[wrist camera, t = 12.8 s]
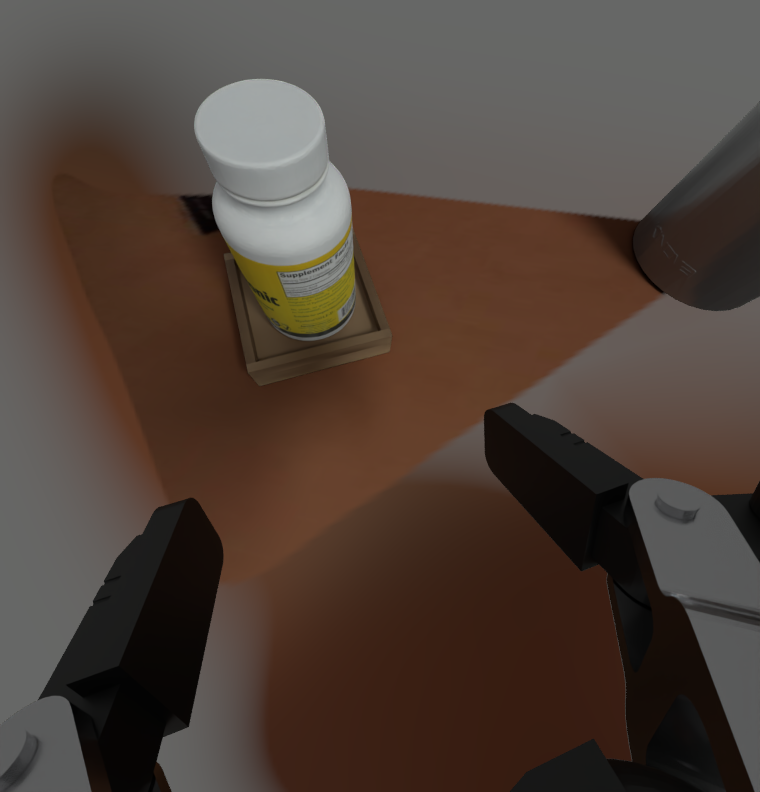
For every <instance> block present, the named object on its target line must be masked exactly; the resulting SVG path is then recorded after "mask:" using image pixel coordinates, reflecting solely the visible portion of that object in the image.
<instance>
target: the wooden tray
mask: <svg viewBox="0 0 760 792" xmlns="http://www.w3.org/2000/svg"><path fill="white" fill-rule="evenodd" d="M352 232H353V233H352V234H353V252H354V271H355V293H356V302H355V308H354V312H353V314H352V316H351V318H350V320H349V321H348V323H347V324H346V325H345V326H344V327H343V328H342V329H341V330H340V331H338V332H337V333H335V334H334V335H332V336H329V337H327V338H324V339H320V340H314V341H302V340H297V339H293V338H290V337H288V336H286V335H284V334H282V333H281V332H279V331H278V330H277V329H276V328H275V327H274V326H273V325H272V324H271V323H270V321H269V320H268V318H267V317H266V315H265V313H264V311H263V309H262V307H261V306H260V304H259V302H258V301H257V299H256V297H255V295H254V293H253V291H252V290H251V288H250V286H249V284H248V282H247V281H246V279H245V277H244V275H243V273H242V272H241V270H240V268H239V266H238V264H237V262H236V260H235V259H234V257H233V255H232V253H226V254H224V259H225V264H226V269H227V274H228V279H229V283H230V288H231V293H232V298H233V303H234V308H235V313H236V317H237V322H238V327H239V332H240V337H241V342H242V347H243V352H244V356H245V361H246V366H247V371H248V374H249V375H250V376H251V377H252V378H253V379H254V380H255V382H256V383H257V384H258V385H259V386H262V385H266V384H270V383H274V382H277V381H281V380H285V379H289V378H293V377H296V376H300V375H304V374H308V373H311V372H315V371H319V370H323V369H327V368H330V367H334V366H338V365H342V364H346V363H349V362H353V361H357V360H361V359H365V358H368V357H372V356H376V355H380V354H383V353H387V352H389V351H390V346H391V341H392V333H391V331H390V328H389V325H388V323H387V320H386V317H385V314H384V312H383V309H382V306H381V304H380V301H379V298H378V295H377V293H376V290H375V287H374V285H373V282H372V279H371V276H370V274H369V271H368V268H367V266H366V263H365V260H364V257H363V255H362V252H361V249H360V247H359V244H358V241H357V238H356V236H355V233H354V230H353V228H352Z"/></svg>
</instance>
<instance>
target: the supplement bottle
mask: <svg viewBox="0 0 760 792" xmlns="http://www.w3.org/2000/svg"><path fill="white" fill-rule="evenodd" d="M194 130H195V134H196V138H197V141H198V143H199V145H200V147H201V150H202V152H203V154H204V156H205V158H206V161H207V163H208V165H209V168H210V170H211V172H212V174H213V176H214V177H215V179H216V180H217V182H216V184H215V187H214V191H213V197H212V207H213V213H214V217H215V221H216V223H217V225H218V227H219V230H220V232H221V234H222V236H223V238H224V240H225V242H226V244H227V245H228V247H229V249H230V251H231V253H232V255H233V257H234V259H235V260H236V262H237V264H238V266H239V268H240V270H241V272H242V273H243V275H244V277H245V279H246V281H247V282H248V284H249V286H250V288H251V290H252V291H253V293H254V295H255V297H256V299H257V301H258V302H259V304H260V306H261V307H262V309H263V311H264V313H265V315H266V317H267V318H268V320H269V321H270V323H271V324H272V325H273V326H274V327H275V328H276V329H277V330H278V331H279V332H281V333H282V334H284V335H286V336H288V337H290V338H293V339H297V340H302V341H314V340H320V339H324V338H327V337H329V336H332V335H334V334H335V333H337V332H338V331H340V330H341V329H342V328H343V327H344V326H345V325H346V324H347V323H348V321H349V320H350V318H351V316H352V314H353V312H354V308H355V302H356V293H355V271H354V252H353V234H352V233H353V232H352V209H351V200H350V194H349V190H348V187H347V184H346V182H345V180H344V178H343V177H342V175H341V173H340V172H339V171H338V169H337V168H336V167H335V166H334V165H333V164H332V163H331V162H330V161H329V157H328V145H327V136H326V128H325V120H324V116H323V113H322V110H321V108H320V107H319V105H318V103H317V102H316V101H315V100H314V98H313V97H311V96H310V95H309V94H308V93H307V92H305V91H304V90H302V89H300V88H298V87H297V86H294V85H292V84H289V83H286V82H283V81H278V80H271V79H250V80H242V81H239V82H236V83H232V84H229V85H227V86H224V87H222V88H220V89H218V90H217V91H215V92H214V93H213V94H211V95H209V97H207V98H206V99H205V100H204V102H203V103H202V104H201V106H200V107H199V109H198V111H197V113H196V116H195V121H194Z"/></svg>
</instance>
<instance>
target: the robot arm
mask: <svg viewBox="0 0 760 792" xmlns="http://www.w3.org/2000/svg"><path fill="white" fill-rule="evenodd" d="M633 249H634V252H635V255H636V258H637V261H638V263H639V264H640V266H641V268H642V270H643V271H644V272H645V274H646V275H647V276H648V277H649V279H650V280H651V281H652V282H653V283H654V284H655V285H657V286H658V287H659V288H660V289H661V290H662V291H664V292H665V293H667V294H668V295H670V296H671V297H673V298H675V299H676V300H678V301H680V302H683V303H685V304H687V305H689V306H693V307H696V308H699V309H703V310H711V311H726V310H731V309H734V308H738V307H741V306H743V305H744V304H746V303H748V302H750V301H752V300H754V299H756V298H758V297H760V102H759V103H758V104H757V105H756V106H755V107H754V108H753V109H752V110H751V111H750V112H749V113H748V114H747V115H746V116H745V117H744V118H743V119H742V120H741V121H740V122H739V123H738V124H737V125H736V126H735V127H734V128H733V129H732V130H731V131H730V132H729V133H728V134H727V135H726V136H725V137H724V138H723V139H722V140H721V141H720V142H719V143H718V144H717V145H716V146H715V147H714V148H713V149H712V150H711V151H710V152H709V153H708V154H707V155H706V156H705V157H704V158H703V159H702V160H701V161H700V162H699V163H698V164H697V165H696V166H695V167H694V168H693V169H692V170H691V171H690V172H689V173H688V174H687V175H686V176H685V177H684V178H683V179H682V180H681V181H680V182H679V183H678V184H677V185H676V186H675V187H674V188H673V189H672V190H671V191H670V192H669V193H668V194H667V195H666V196H665V197H664V198H663V199H662V200H661V202H659V203H658V204H657V205H656V206H655V207H654V208H653V209H652V210H651V211H650V212H649V213H648V215H646V216H645V217H644V218H643V219H642V220H641V222H640V223H639V224H638V226H637V228H636V229H635V232H634V237H633ZM484 435H485V457H486V460H487V463H488V466H489V468H490V469H491V471H492V472H493V474H494V475H495V476H496V477H497V478H498V479H499V480H500V481H501V483H502V484H503V485H504V486H505V487H506V488H507V489H508V490H509V492H510V493H511V494H512V495H513V496H514V497H515V498H516V499H517V500H518V502H519V503H520V504H521V505H522V506H523V507H524V508H525V509H526V510H527V512H528V513H529V514H530V515H531V516H532V517H533V518H534V519H535V520H536V522H537V523H538V524H539V525H540V526H541V527H542V528H543V529H544V530H545V531H546V533H547V534H548V535H549V536H550V537H551V538H552V539H553V540H554V542H555V543H556V544H557V545H558V546H559V547H560V548H561V549H562V551H563V552H564V553H565V554H566V555H567V556H568V557H569V558H570V559H571V561H572V562H573V563H574V564H575V565H576V566H577V567H578V568H579V569H580V571H583V570H586V569H588V568H591V567H594V566H596V565H598V564H599V565H600V566H601V567H602V568H603V569H604V570H605V571H606V572H607V573H608V575H607V587H608V592H609V597H610V602H611V607H612V613H613V617H614V623H615V628H616V633H617V638H618V643H619V649H620V654H621V659H622V664H623V669H624V675H625V683H626V699H625V715H626V726H627V734H628V740H629V746H630V752H631V758H632V762H631V761H624V760H617V759H606V758H605V756H604V755H603V753H602V751H601V750H600V748H599V746H598V745H597V743H596V742H595V740H594V739H592V740H590V741H588V742H586V743H584V744H582V745H580V746H578V747H576V748H574V749H572V750H570V751H568V752H566V753H564V754H562V755H560V756H558V757H556V758H554V759H552V760H550V761H548V762H546V763H544V764H542V765H540V766H538V767H536V768H534V769H532V770H530V771H528V772H526V773H525V774H524V776H523V777H522V778H521V779H520V780H519V782H518V783H517V784H516V785H515V786H514V787H513V789H512V790H511V791H510V792H760V481H759V483H758V485H757V487H756V489H755V491H754V493H753V494H733V495H713V496H710V495H708V494H707V493H705V492H704V491H702V490H700V489H698V488H696V487H693V486H691V485H688V484H685V483H682V482H679V481H674V480H670V479H662V478H649V479H643V478H641V477H639V476H638V475H636V474H635V473H633V472H632V471H630V470H629V469H627V468H625V467H624V466H623V465H621V464H620V463H618V462H617V461H615V460H614V459H612V458H611V457H609V456H608V455H606V454H604V453H603V452H601V451H600V450H598V449H597V448H595V447H594V446H592V445H591V444H589V443H588V442H587V443H585V442H584V440H583V439H582V438H580V437H578V436H577V435H576V434H571V432H570V431H569V430H568V429H566V428H565V427H563V426H562V425H560V424H559V423H557V422H556V421H554V420H551V419H548V418H545V417H542V416H539V415H536V414H533V415H531V414H529V413H528V412H526V411H525V410H524V409H522V408H521V407H519V406H518V405H516V404H515V403H509V404H505V405H502V406H499V407H495V408H492V409H489V410H486V412H485V414H484ZM222 565H223V546H222V543H221V540H220V537H219V536H218V534H217V532H216V531H215V529H214V527H213V526H212V524H211V522H210V521H209V519H208V517H207V516H206V514H205V512H204V511H203V509H202V507H201V506H200V504H199V503H198V501H197V500H196V499H194V498H188V499H185V500H182V501H178V502H175V503H172V504H168V505H165V506H161V507H158V508H157V509H156V510H155V511H154V513H153V514H152V516H151V518H150V520H149V522H148V524H147V526H146V528H145V530H144V532H143V534H142V535H138V536H136V537H135V539H134V540H133V541H132V542H131V543H130V544H129V545H128V546H127V547H126V549H125V550H124V551H123V552H122V553H121V554H120V555H119V556H118V557H117V559H116V560H115V562H114V564H113V566H112V568H111V570H110V571H109V573H108V575H107V577H106V578H105V580H104V582H105V584H104V585H103V586H101V588H100V589H99V591H98V593H97V595H96V597H95V598H94V600H93V606H91V607H89V609H88V611H87V613H86V615H85V616H84V618H83V620H82V622H81V624H80V625H79V627H78V629H77V631H76V633H75V635H74V636H73V638H72V640H71V642H70V644H69V645H68V647H67V649H66V651H65V653H64V654H63V656H62V658H61V660H60V662H59V663H58V665H57V667H56V669H55V671H54V672H53V674H52V676H51V678H50V680H49V681H48V683H47V685H46V687H45V689H44V691H43V692H42V694H41V696H40V697H39V699H38V700H37V701H35V702H33V703H31V704H30V705H28V706H26V707H24V708H23V709H21V710H20V711H18V712H16V713H15V714H14V715H12V716H11V717H10V718H8V719H7V720H6V721H4V722H3V723H2V724H1V725H0V792H172V791H171V789H170V786H169V784H168V781H167V779H166V776H165V774H164V771H163V769H162V767H161V766H160V764H159V763H158V762H157V757H158V753H159V749H160V745H161V741H162V738H163V737H165V736H167V735H170V734H172V733H175V732H177V731H180V730H182V729H185V728H187V727H189V723H190V718H191V713H192V708H193V704H194V699H195V694H196V689H197V685H198V680H199V675H200V670H201V666H202V661H203V656H204V651H205V647H206V642H207V636H208V632H209V627H210V623H211V618H212V612H213V608H214V603H215V598H216V594H217V589H218V584H219V580H220V575H221V570H222Z"/></svg>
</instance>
